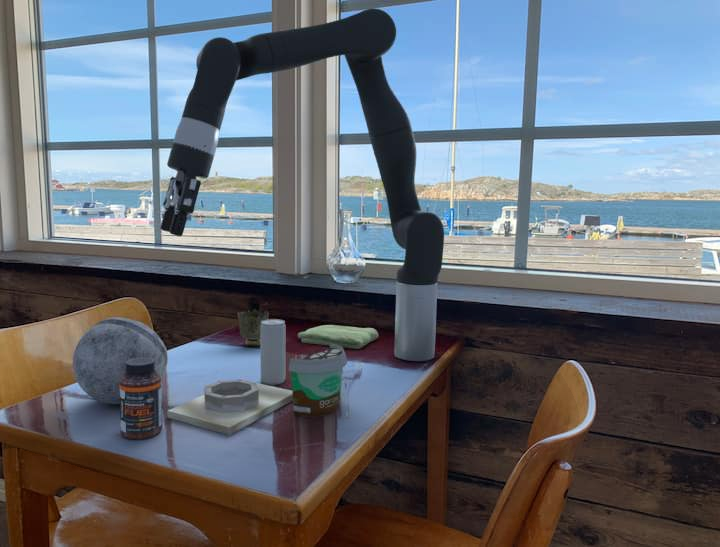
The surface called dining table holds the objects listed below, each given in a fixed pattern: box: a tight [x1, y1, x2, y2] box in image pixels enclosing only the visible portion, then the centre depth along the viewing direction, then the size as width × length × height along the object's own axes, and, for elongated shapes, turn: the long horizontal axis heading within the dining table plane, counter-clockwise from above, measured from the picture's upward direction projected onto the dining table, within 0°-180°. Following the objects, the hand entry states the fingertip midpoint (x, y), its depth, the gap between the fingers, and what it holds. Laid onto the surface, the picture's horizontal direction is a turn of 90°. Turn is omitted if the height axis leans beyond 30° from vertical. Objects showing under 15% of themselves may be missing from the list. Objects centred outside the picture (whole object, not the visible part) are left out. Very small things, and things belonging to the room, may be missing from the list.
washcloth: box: [297, 324, 379, 350], centre depth 141 cm, size 13×18×3 cm
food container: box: [288, 343, 348, 418], centre depth 94 cm, size 12×6×10 cm, turn 148°
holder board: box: [167, 378, 293, 436], centre depth 95 cm, size 18×13×4 cm
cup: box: [236, 309, 270, 347], centre depth 134 cm, size 8×7×8 cm
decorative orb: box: [72, 316, 168, 405], centre depth 96 cm, size 15×14×15 cm
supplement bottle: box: [119, 357, 163, 440], centre depth 84 cm, size 6×6×11 cm
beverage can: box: [259, 318, 287, 386], centre depth 108 cm, size 5×5×12 cm
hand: (170, 233), depth 102 cm, fingers open, 8 cm apart
